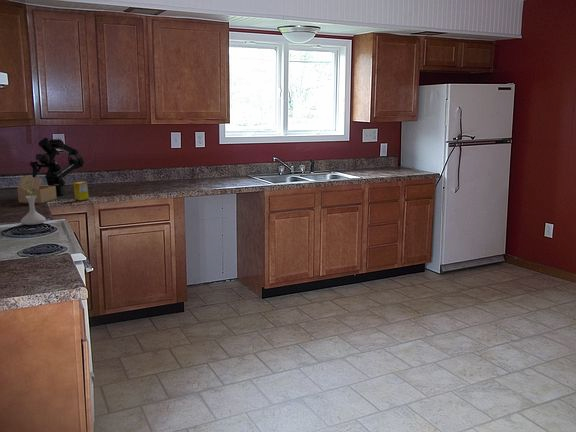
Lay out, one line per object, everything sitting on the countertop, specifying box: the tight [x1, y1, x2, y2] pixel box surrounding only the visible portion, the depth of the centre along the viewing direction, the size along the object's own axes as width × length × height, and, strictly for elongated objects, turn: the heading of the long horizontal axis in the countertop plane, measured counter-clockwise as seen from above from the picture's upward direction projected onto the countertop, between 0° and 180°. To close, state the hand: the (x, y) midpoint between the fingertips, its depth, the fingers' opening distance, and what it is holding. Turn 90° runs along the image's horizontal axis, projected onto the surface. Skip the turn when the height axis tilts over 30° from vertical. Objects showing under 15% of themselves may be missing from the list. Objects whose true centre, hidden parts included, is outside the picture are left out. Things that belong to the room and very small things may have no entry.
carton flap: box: [17, 176, 42, 189], centre depth 331 cm, size 7×14×1 cm
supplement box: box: [73, 181, 90, 202], centre depth 338 cm, size 6×6×11 cm
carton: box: [16, 184, 58, 205], centre depth 338 cm, size 15×16×8 cm
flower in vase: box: [20, 174, 46, 226], centre depth 276 cm, size 13×11×25 cm
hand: (39, 177), depth 339 cm, fingers open, 9 cm apart
